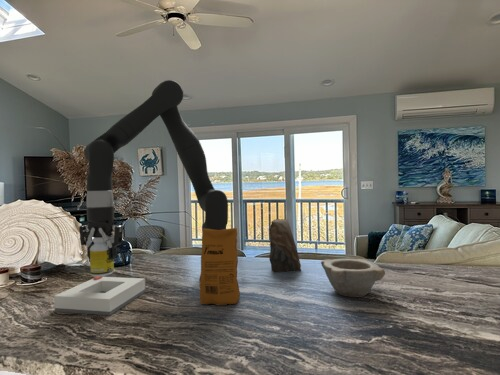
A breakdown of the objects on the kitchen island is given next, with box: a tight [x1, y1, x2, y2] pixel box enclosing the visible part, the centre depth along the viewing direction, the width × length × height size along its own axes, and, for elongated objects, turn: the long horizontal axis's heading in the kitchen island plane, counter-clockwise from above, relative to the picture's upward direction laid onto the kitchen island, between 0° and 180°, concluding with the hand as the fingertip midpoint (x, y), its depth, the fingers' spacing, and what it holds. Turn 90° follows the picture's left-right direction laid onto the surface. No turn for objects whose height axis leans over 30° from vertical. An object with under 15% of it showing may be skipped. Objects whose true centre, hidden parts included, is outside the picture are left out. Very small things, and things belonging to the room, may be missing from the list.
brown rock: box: [268, 217, 302, 274], centre depth 125 cm, size 13×13×20 cm
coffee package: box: [199, 227, 241, 306], centre depth 92 cm, size 10×12×22 cm
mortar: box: [320, 258, 386, 298], centre depth 96 cm, size 17×17×9 cm
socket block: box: [53, 276, 146, 316], centre depth 94 cm, size 18×18×5 cm
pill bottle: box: [89, 236, 115, 277], centre depth 93 cm, size 6×6×12 cm
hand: (101, 258), depth 94 cm, fingers closed on pill bottle, 6 cm apart
